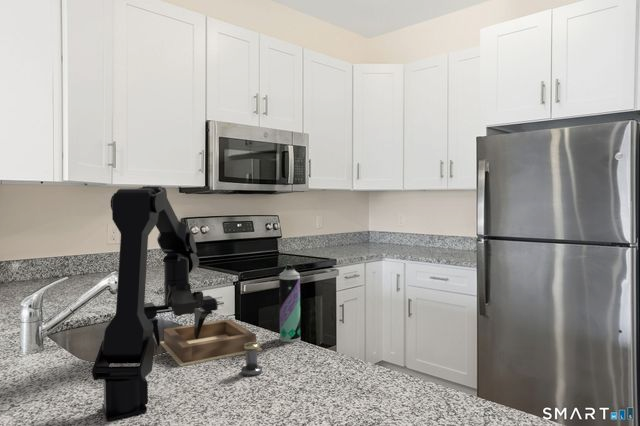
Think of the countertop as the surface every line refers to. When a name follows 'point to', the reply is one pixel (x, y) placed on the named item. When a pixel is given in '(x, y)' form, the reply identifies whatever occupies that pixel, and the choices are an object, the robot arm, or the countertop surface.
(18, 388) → the countertop surface
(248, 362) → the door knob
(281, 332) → the spray can
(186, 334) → the walnut frame
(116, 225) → the robot arm
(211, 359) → the cork mat
